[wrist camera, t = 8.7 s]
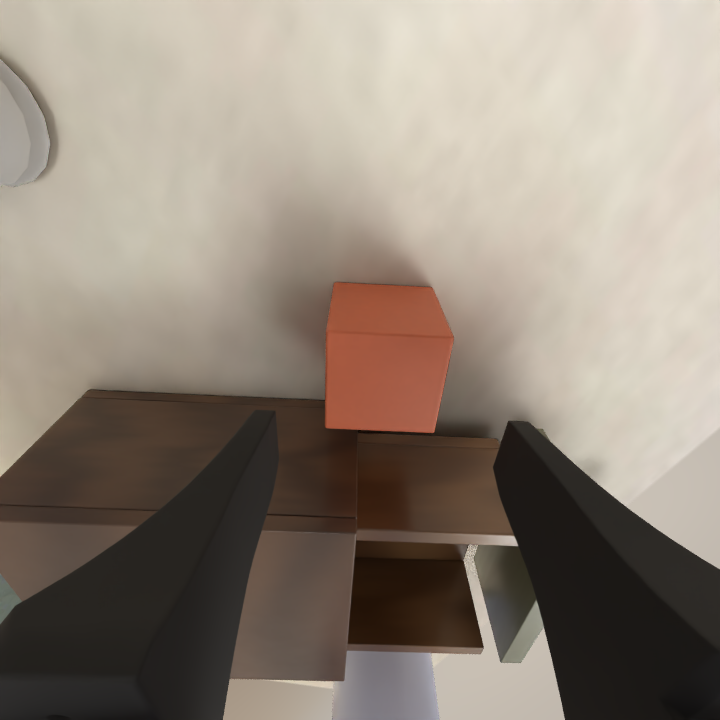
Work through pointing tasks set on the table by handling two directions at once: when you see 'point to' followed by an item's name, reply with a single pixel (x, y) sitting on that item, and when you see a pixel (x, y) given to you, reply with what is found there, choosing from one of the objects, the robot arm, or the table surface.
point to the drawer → (435, 550)
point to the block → (385, 358)
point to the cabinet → (165, 480)
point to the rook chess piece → (20, 132)
